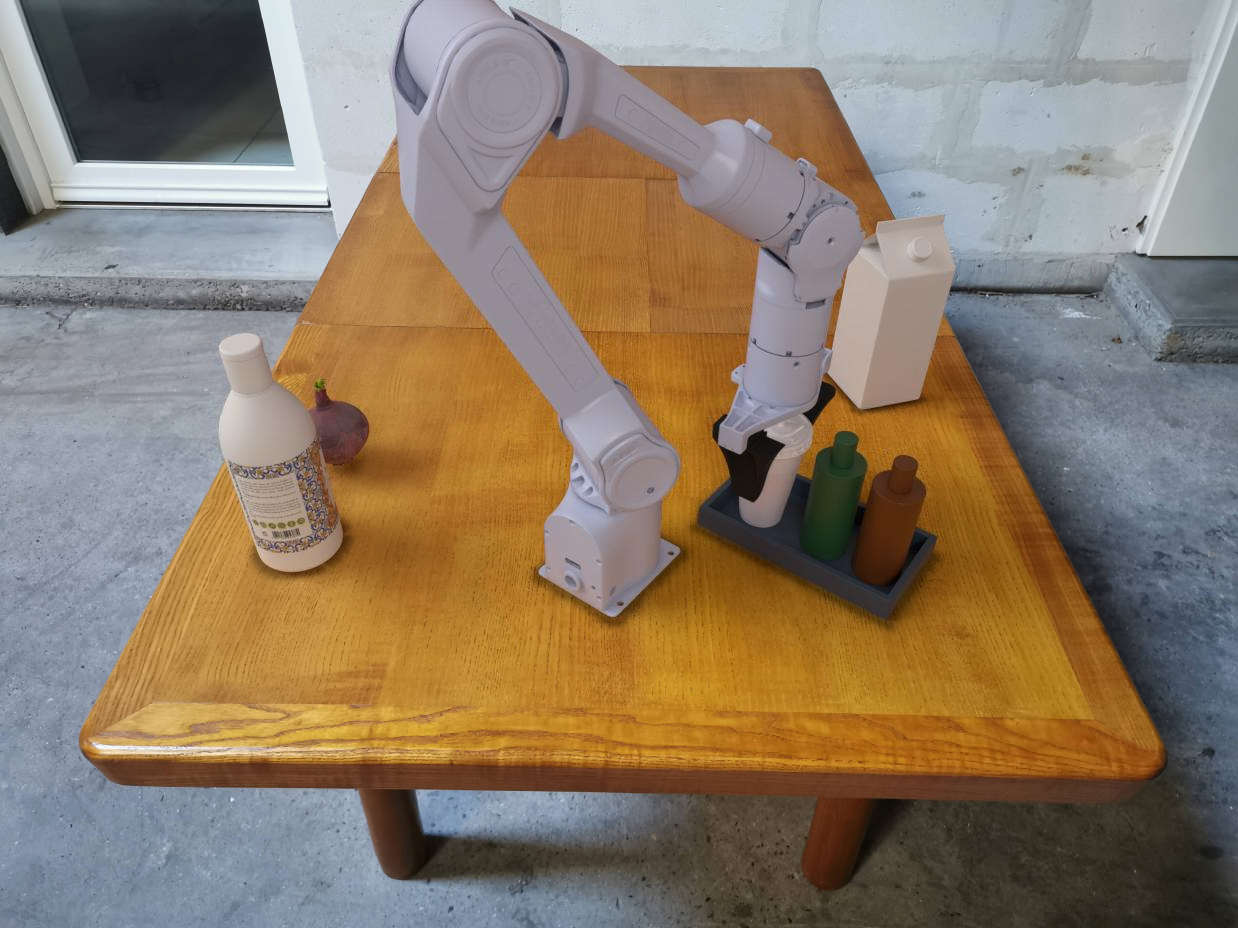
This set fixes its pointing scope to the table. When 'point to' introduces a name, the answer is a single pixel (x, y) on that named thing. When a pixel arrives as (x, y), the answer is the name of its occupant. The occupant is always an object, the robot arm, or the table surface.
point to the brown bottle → (889, 523)
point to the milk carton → (892, 311)
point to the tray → (787, 553)
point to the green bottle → (833, 498)
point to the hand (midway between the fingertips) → (766, 474)
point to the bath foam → (276, 463)
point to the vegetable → (338, 427)
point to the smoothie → (779, 472)
